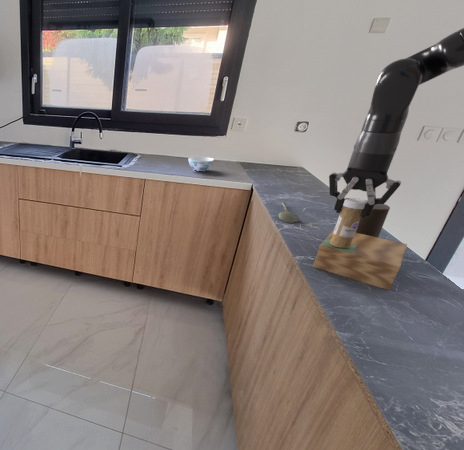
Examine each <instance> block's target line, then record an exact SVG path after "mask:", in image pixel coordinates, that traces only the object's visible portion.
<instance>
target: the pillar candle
mask: <svg viewBox="0 0 464 450" xmlns="http://www.w3.org/2000/svg"><path fill="white" fill-rule="evenodd" d="M364 200H365V199H364ZM365 201H367V203H368V199H367V200H365ZM390 209H391V207H390V206H389V205H388V204H386V203H384V204H376V205H374V207H373V210H372V212H371V214H370V216H366V217H365V218H362V216H361V219H360V221H359V224H358V227H357V230H356V233H360V234H364V235H369V236H373V237H377V238H380V237H379V236H380V234H381V231H382V230H383V227H384V224H385V221H386V219H387V216H388V214H389V212H390ZM363 212H364V210H363ZM362 215H363V213H362Z"/></svg>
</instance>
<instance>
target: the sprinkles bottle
mask: <svg viewBox="0 0 464 450" xmlns="http://www.w3.org/2000/svg"><path fill="white" fill-rule="evenodd" d="M367 201H368V200H367ZM367 201H365V199H361V198H357V197H346V198H344V202H343V207H342V209H341V212H340V213H339V215H338V219H337V221H336V224H335V226H334V228H335V229H334V228H333V230H334V232H333V236H332V239H331V241H330V244H331V245H333V246H335V247H338V248H350V247H351V242H352V240H353V237H354V235H355V233H356V230H357V227H358V224H359V221H360V219H361V216H362V213H363V210H364V209H365V207H366V204H367Z"/></svg>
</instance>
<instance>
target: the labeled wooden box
mask: <svg viewBox="0 0 464 450" xmlns="http://www.w3.org/2000/svg"><path fill="white" fill-rule="evenodd" d="M334 229H335V227H334V228H333V230H332V231H331V232H330V233H329V235H328V236H326V238H325V239H324V240H323V241H322V242H321V244H320V245H319V248H318V251H317V254H316V257H315V260H314V262H313V266H312V267H313V268H316V269H319V270H322V271H325V272H328V273H331V274H335V275H337V276H341V277H344V278H347V279H351V280H354V281H357V282H361V283H363V284H368V285H369V286H370V285H371V286H373V287H377V288H380V289H384V290H387V291H390V290H391V288H392V286H393V284H394V282H395V279H396V277H397V275H398V273H399V270H400V269H401V266H402V263H403V259H404V257H405V253H406V250H407V247H408V244H407V243H404V242H398V241H395V240H390V239H387V238H386V239H385V238H382V237H378V238H377V237H373V236H369V235H364V234H360V233H355V235H354V237H353V240H352V242H351V247H350V248H338V247H335V246H333V245H331V244H330V241H331V239H332V236H333V232H334Z"/></svg>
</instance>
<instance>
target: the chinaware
mask: <svg viewBox="0 0 464 450" xmlns="http://www.w3.org/2000/svg"><path fill="white" fill-rule="evenodd" d="M187 159H188V164H189V166H190V167H191V169H193V171H194V170H197V171H204V172H206V170H208V169H209V168H210V167H212V165H213V163H214V161H215V159H214V158H212V157H208V156H190V157H188V158H187Z"/></svg>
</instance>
